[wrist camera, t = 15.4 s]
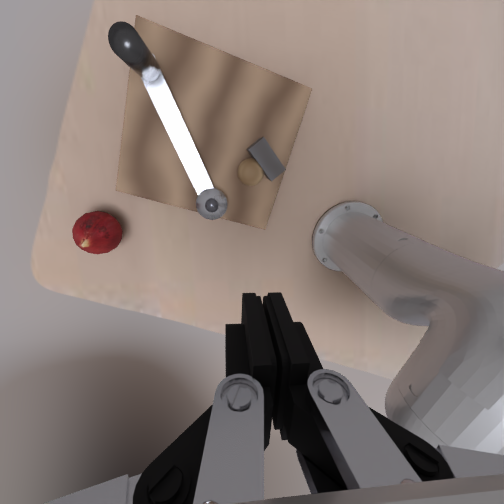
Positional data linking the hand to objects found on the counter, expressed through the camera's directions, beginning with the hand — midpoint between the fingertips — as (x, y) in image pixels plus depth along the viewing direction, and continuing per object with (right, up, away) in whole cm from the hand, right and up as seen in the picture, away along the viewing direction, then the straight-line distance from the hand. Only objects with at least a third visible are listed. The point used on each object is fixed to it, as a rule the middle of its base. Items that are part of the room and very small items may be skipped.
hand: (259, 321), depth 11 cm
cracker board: (-6, +19, +25) cm, 32 cm away
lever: (-9, +17, +22) cm, 30 cm away
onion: (-22, +7, +27) cm, 36 cm away
